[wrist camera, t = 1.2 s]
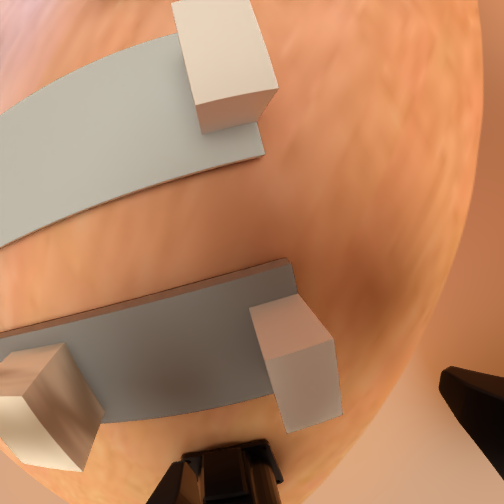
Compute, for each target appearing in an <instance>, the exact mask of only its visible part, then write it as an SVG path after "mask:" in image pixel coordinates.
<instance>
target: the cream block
mask: <svg viewBox="0 0 504 504" xmlns="http://www.w3.org/2000/svg"><path fill="white" fill-rule="evenodd" d="M104 413H105V410H104V409H103V407H102V406H101V404H100V403H99V401H98V400H97V398H96V397H95V395H94V393H93V392H92V390H91V389H90V387H89V385H88V384H87V382H86V380H85V379H84V377H83V375H82V373H81V372H80V370H79V368H78V366H77V365H76V363H75V361H74V359H73V357H72V355H71V353H70V352H69V350H68V348H67V346H66V344H65V342H64V343H58V344H53V345H48V346H43V347H37V348H32V349H26V350H21V351H15V352H11V353H10V354H9V355H8V356H7V357H6V358H5V359H4V360H3V361H2V362H1V363H0V438H1V439H2V440H3V441H4V443H5V444H6V445H7V446H8V447H9V449H10V450H11V451H12V452H13V453H14V454H15V455H16V456H17V458H18V459H19V460H20V461H21V462H22V463H24V464H29V465H35V466H40V467H46V468H53V469H61V470H69V471H79V472H83V470H84V467H85V464H86V462H87V459H88V456H89V453H90V450H91V448H92V445H93V442H94V439H95V437H96V434H97V431H98V429H99V426H100V424H101V421H102V418H103V416H104Z"/></svg>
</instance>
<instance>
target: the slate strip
mask: <svg viewBox="0 0 504 504" xmlns="http://www.w3.org/2000/svg"><path fill="white" fill-rule="evenodd" d="M171 5H172V10H173V15H174V19H175V24H176V29H177V33H175V34H171V35H167V36H164V37H160V38H157V39H154V40H150V41H147V42H144V43H141V44H138V45H135V46H132V47H130V48H127V49H124V50H121V51H119V52H116V53H114V54H111V55H109V56H106V57H104V58H101V59H99V60H97V61H94V62H92V63H90V64H88V65H86V66H83V67H81V68H79V69H77V70H75V71H73V72H71V73H69V74H67V75H65V76H63V77H61V78H59V79H57V80H56V81H54V82H52V83H50V84H48V85H47V86H45V87H43V88H41V89H40V90H38V91H36V92H35V93H33V94H31V95H30V96H28V97H27V98H25V99H23V100H22V101H20V102H19V103H17V104H16V105H14V106H13V107H11V108H10V109H8V110H7V111H6V112H4V113H3V114H1V115H0V248H2V247H4V246H6V245H8V244H10V243H13V242H15V241H17V240H19V239H21V238H23V237H25V236H27V235H29V234H32V233H34V232H36V231H38V230H41V229H43V228H45V227H47V226H50V225H52V224H54V223H57V222H59V221H61V220H64V219H66V218H69V217H71V216H74V215H76V214H78V213H81V212H84V211H86V210H89V209H91V208H94V207H96V206H99V205H102V204H105V203H107V202H110V201H113V200H115V199H118V198H121V197H124V196H127V195H130V194H133V193H136V192H138V191H141V190H144V189H148V188H151V187H154V186H157V185H160V184H163V183H166V182H170V181H173V180H176V179H179V178H183V177H186V176H190V175H193V174H197V173H200V172H204V171H207V170H211V169H215V168H218V167H222V166H226V165H230V164H234V163H238V162H242V161H246V160H250V159H255V158H259V157H262V156H263V155H265V151H264V148H263V144H262V140H261V136H260V132H259V129H258V125H257V120H258V119H259V117H260V116H261V114H262V113H263V111H264V110H265V108H266V107H267V105H268V104H269V102H270V101H271V99H272V98H273V96H274V95H275V93H276V92H277V90H278V89H279V86H278V83H277V80H276V77H275V73H274V70H273V67H272V64H271V61H270V58H269V55H268V52H267V49H266V46H265V43H264V40H263V37H262V34H261V31H260V28H259V25H258V23H257V20H256V17H255V14H254V12H253V9H252V6H251V3H250V1H249V0H182V1H177V2H173V3H171Z"/></svg>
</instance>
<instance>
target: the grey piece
mask: <svg viewBox="0 0 504 504" xmlns="http://www.w3.org/2000/svg"><path fill="white" fill-rule="evenodd" d="M64 342H65V344H66V346H67V348H68V350H69V352H70V353H71V355H72V357H73V359H74V361H75V363H76V365H77V366H78V368H79V370H80V372H81V373H82V375H83V377H84V379H85V380H86V382H87V384H88V385H89V387H90V389H91V390H92V392H93V393H94V395H95V397H96V398H97V400H98V401H99V403H100V404H101V406H102V407H103V409H104V410H105V413H104V416H103V418H102V421H101V423H115V422H127V421H137V420H146V419H154V418H161V417H168V416H174V415H181V414H187V413H192V412H198V411H203V410H208V409H213V408H217V407H222V406H226V405H231V404H235V403H239V402H243V401H247V400H251V399H255V398H259V397H262V396H266V395H270V394H273V393H274V395H275V398H276V401H277V404H278V407H279V411H280V414H281V417H282V420H283V423H284V426H285V429H286V433H287V434H288V433H291V432H295V431H298V430H301V429H304V428H307V427H310V426H313V425H316V424H319V423H322V422H325V421H328V420H330V419H333V418H336V417H338V416H341V415H343V412H342V401H341V392H340V383H339V374H338V366H337V358H336V350H335V343H334V338H333V337H332V336H331V334H330V333H329V332H328V331H327V329H326V328H325V327H324V325H323V324H322V323H321V322H320V320H319V319H318V318H317V317H316V315H315V314H314V313H313V312H312V310H311V309H310V308H309V306H308V305H307V304H306V303H305V301H304V300H303V299H302V298H301V296H300V295H299V294H298V291H297V286H296V281H295V277H294V272H293V268H292V264H291V263H290V262H289V261H288V260H287V259H286V258H282V259H279V260H275V261H272V262H268V263H265V264H261V265H258V266H254V267H251V268H247V269H243V270H240V271H236V272H233V273H229V274H225V275H222V276H218V277H215V278H211V279H207V280H204V281H200V282H196V283H193V284H189V285H185V286H182V287H178V288H174V289H171V290H167V291H163V292H159V293H156V294H152V295H148V296H144V297H141V298H137V299H133V300H129V301H126V302H122V303H118V304H114V305H110V306H106V307H103V308H99V309H95V310H91V311H87V312H83V313H79V314H75V315H71V316H67V317H63V318H59V319H56V320H52V321H48V322H43V323H39V324H35V325H31V326H27V327H23V328H19V329H15V330H11V331H7V332H2V333H0V363H1V362H2V361H3V360H4V359H5V358H6V357H7V356H8V355H9V354H10V353H11V352H15V351H21V350H26V349H32V348H37V347H43V346H48V345H53V344H58V343H64Z"/></svg>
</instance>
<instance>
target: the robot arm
mask: <svg viewBox="0 0 504 504" xmlns="http://www.w3.org/2000/svg"><path fill="white" fill-rule="evenodd" d="M439 391H440V393H441V395H442V397H443V398H444V400H445V401H446V403H447V404H448V406H449V407H450V409H451V411H452V412H453V414H454V416H455V417H456V418H457V420H458V421H459V423H460V424H461V425H462V427H463V428H464V429H465V430H466V432H467V433H468V434H469V435H470V437H471V438H472V439H473V440H474V442H475V443H476V444H477V446H478V447H479V448H480V449H481V450H482V452H483V453H484V455H485V456H486V457H487V459H488V460H489V461H490V463H491V464H492V465H493V467H494V468H495V469H496V471H497V472H498V473H499V475H500V476H501V477H502V479H503V480H504V377H499V376H494V375H489V374H484V373H480V372H476V371H471V370H467V369H462V368H458V367H454V366H450V367H448V368H446V369H444V370H443V371H442V372H441V376H440V382H439ZM197 482H198V483H197ZM282 482H283V477H282V474H281V472H280V469H279V467H278V464H277V462H276V460H275V457H274V455H273V452H272V450H271V447H270V445H269V442H268V441H266V440H259V441H255V442H251V443H247V444H242V445H237V446H233V447H228V448H222V449H217V450H211V451H205V452H199V453H192V454H185V455H182V457H181V461H178V462H173V463H172V464H171V466H170V467H169V469H168V470H167V472H166V474H165V475H164V477H163V478H162V480H161V481H160V483H159V484H158V486H157V487H156V489H155V490H154V492H153V493H152V495H151V496H150V498H149V499H148V501H147V502H146V504H281V500H280V496H279V492H278V488H277V484H280V483H282Z"/></svg>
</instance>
